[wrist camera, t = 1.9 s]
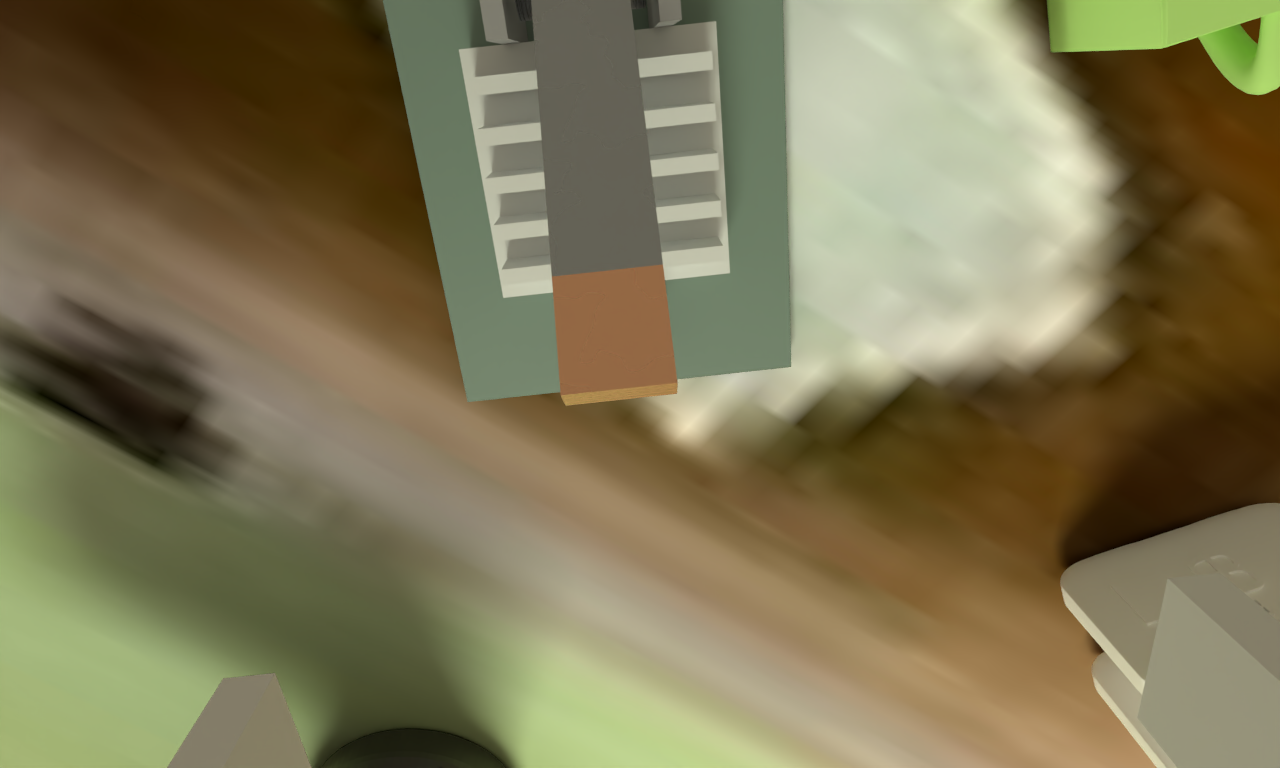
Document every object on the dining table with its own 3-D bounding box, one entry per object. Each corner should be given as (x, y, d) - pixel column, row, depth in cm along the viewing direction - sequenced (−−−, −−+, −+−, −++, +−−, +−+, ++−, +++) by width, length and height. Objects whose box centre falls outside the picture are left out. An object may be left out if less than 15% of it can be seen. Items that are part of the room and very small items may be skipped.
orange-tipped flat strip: (548, 410, 24) (539, 394, 23) (519, -6, 29) (510, -44, 28) (695, 394, 24) (697, 377, 23) (641, -19, 29) (640, -59, 28)
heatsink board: (471, 393, 42) (438, 472, 34) (368, -100, 33) (288, -156, 25) (786, 359, 42) (829, 429, 34) (773, -145, 33) (828, -216, 25)
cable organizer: (1065, 672, 53) (1182, 826, 42) (1041, 558, 49) (1163, 696, 38) (1283, 604, 51) (1462, 747, 40) (1276, 480, 47) (1473, 602, 36)
